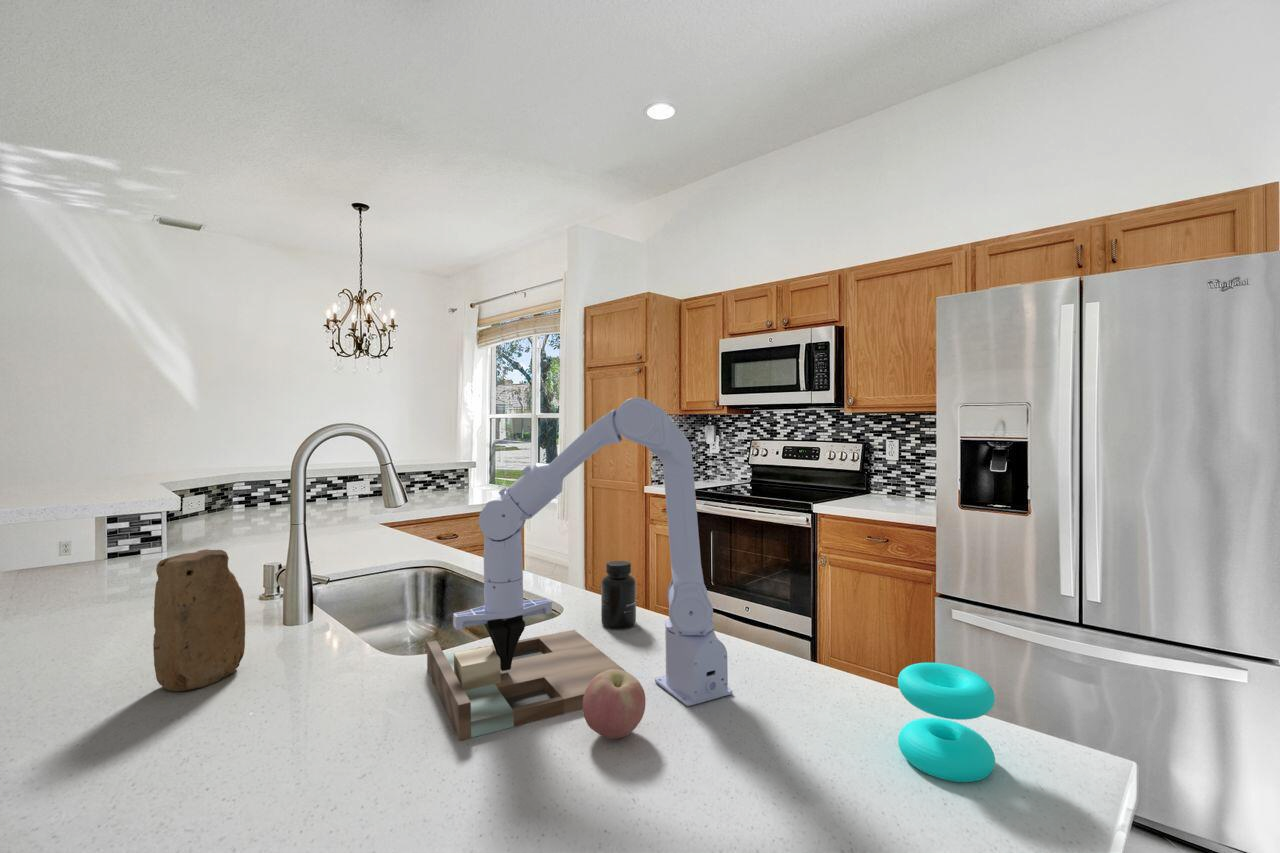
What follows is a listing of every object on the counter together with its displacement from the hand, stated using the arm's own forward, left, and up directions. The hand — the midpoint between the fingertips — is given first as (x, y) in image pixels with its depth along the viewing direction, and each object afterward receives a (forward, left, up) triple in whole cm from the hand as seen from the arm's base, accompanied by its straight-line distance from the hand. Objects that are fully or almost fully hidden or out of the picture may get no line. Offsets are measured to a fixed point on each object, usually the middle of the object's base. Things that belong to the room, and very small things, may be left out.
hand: (504, 668), depth 90 cm
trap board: (0, -4, -3) cm, 5 cm away
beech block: (0, +4, -1) cm, 4 cm away
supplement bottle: (+16, -27, -3) cm, 32 cm away
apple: (-21, -8, -3) cm, 23 cm away
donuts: (-45, -39, -3) cm, 60 cm away
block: (+26, +41, -3) cm, 49 cm away
